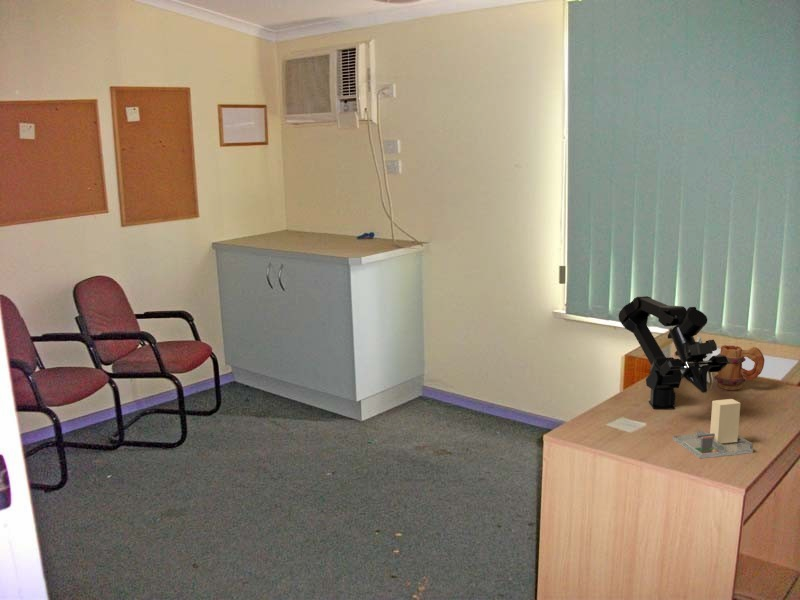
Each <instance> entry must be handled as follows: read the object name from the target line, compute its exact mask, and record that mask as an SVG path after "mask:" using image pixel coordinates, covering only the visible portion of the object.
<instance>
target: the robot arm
mask: <svg viewBox="0 0 800 600" xmlns="http://www.w3.org/2000/svg"><path fill="white" fill-rule="evenodd" d="M650 315H651V316H652V317H656V318H657V319H658V323H660V324H661V325H662V326H664V327H672V329H669V332H668V334H667V339H669V340H670V339H672V342H673V344H674V347H675V349H676V351H675V352H674V353H675V356H676V357H677V356H679V358H674V357H673V356H672V357H671V356H670V357H667V356H665V354H664V352H663V350H662V349H661V347H660V345H659V343H658V342H657V340H656V338H655V337H654V335H653V333H652V332H651V330H650V328H649V326H648V320H649V317H650ZM618 320H619V322H620V323H621V325H622V326H623V328H625V329H626V330H627V331H629V332H631V333H632V334H633V335H634V337H635V339H636V340H637V343H638V344H639V346H640V348H641V349H642V351H643V353H644V355H645V356H646V359H647V360H648V362H649V363H650V369H649V370H650V372H649V375H648V376H647V377H646V379H645V384H646V386H647V387H648V388H650V398H649V400H648V404H649V405H650V406H651V408H653V410H675V409H676V407H675V405H676V392H675V389H679V388H680V385H681V383H682V378H684V379H685V380H687V381H688V382H690V383H691V384H692V385H693V386H695V388H697V389H698V390H699V391H700V392H701V393H703V394H704V393H707V392H708V382H707V372H708V373H710V372H712V373H716V372H717V373H718V372H719V371H721V370H722V369H723V368H724V367H725V366H726V365H727V364H728V363H729V361H728V359H727V357H726V356H724V355H718V354H716V355H711V354H714V353H713V352H715V351H717V350H718V347H717V343H716V341H715V339H708V340H705V342H702V343H699V342H697V341H696V340H695V336H696V335H698V334H699V333H700V331H701V330H702V329H703V328H704V327H705V326H706V325H707V323H708V317H707V315H706V314H705V313H704V312H702V311H701V310H698V309H697V307H696V306H689V307H688V308H686V307H685V306H682V305H667V304H666V303H663V302H661V301H659V300H656V299H654V298H652V297H651V296H646V295H645V296H644V295H643V296H636V297H635V298H634V299H632V301H631V302H629V303H627V304H626V305H624V306H623V307H622V308H621V310H620V311H619V312H618ZM708 355H711V357H710V358H709V359H708V360H705V361H703V359H707V357H708ZM681 370H682V372H683V374H682V372H681Z"/></svg>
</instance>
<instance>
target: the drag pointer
mask: <svg viewBox="0 0 800 600" xmlns="http://www.w3.org/2000/svg"><path fill="white" fill-rule="evenodd" d="M712 444H713V436H707V437H702V438H701V449H707V448H712Z"/></svg>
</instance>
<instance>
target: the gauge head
mask: <svg viewBox="0 0 800 600" xmlns="http://www.w3.org/2000/svg"><path fill="white" fill-rule="evenodd" d="M740 413H741V402H739V401H738V400H735V399H733V398H727V399H717V400H712V403H711V413H710V414H711V415H710V417H711V418H710V429H709V430H710V434H701V435H697V438H702V437H707V436H713V439H715V440H717V441H718V442H720V443H730V442H737V440H738V435H739V426H740V424H739V423H740Z"/></svg>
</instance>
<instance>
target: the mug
mask: <svg viewBox="0 0 800 600" xmlns="http://www.w3.org/2000/svg"><path fill="white" fill-rule="evenodd" d="M717 355H724V356H726V357H727V359H728V361H729V363H728V364H727V365H726V366H725V367H724V368H723V369H722V370H721V371H719V372H717V373H718V374H717V375H715V376H714V377H713V379H715V380H716V383H717V387H719V388H720V389H723V390H725V391H737V390H739V389H741V388H743V385H744V384H743V383H744V382H746V379H747V380H748V381H753V380H756V379H757V377H759V375H761V373H762V371H763V370H764V365H765V356H764V354H763V352H762V351H761V350H760V349H759V348H758V347H755V346H753V347H751V348H749V349H742V348H741V347H740V346H735V345H728V344H727V345H726V344H724V345H721V347H720V353H718V354H717ZM746 358H748V359H749V360H751V361H752V362H753V363H754V365H753V368H752V369H749V370H748V369H745V368H743V363H744V362H746ZM745 378H746V379H745Z"/></svg>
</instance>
